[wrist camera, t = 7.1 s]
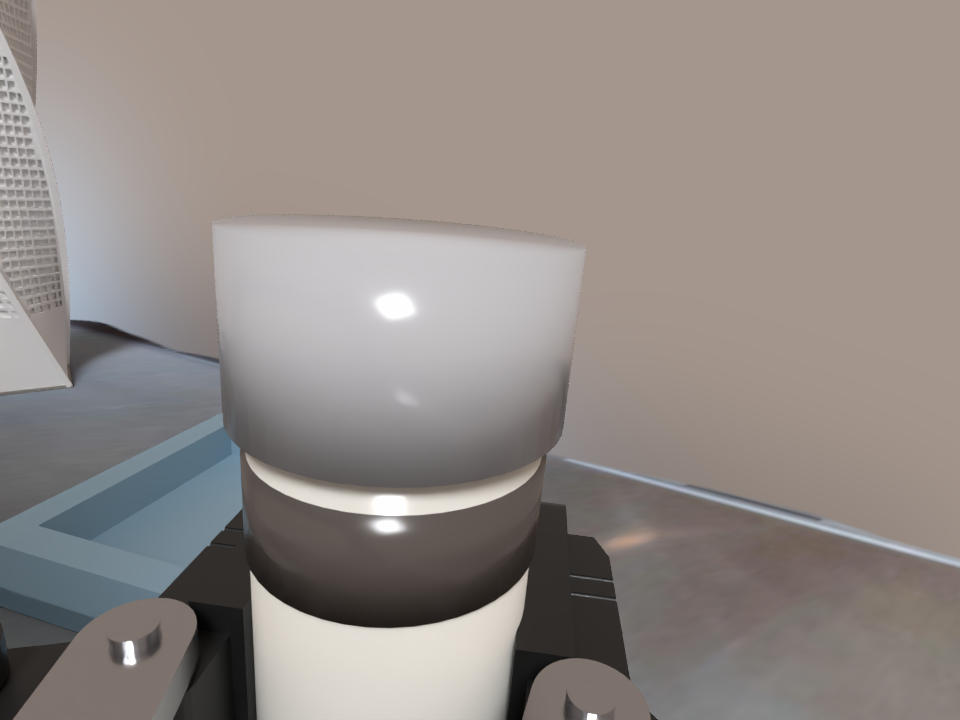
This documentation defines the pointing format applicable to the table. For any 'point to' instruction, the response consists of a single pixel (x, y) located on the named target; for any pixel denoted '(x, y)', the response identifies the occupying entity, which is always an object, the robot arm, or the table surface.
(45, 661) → the robot arm
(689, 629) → the table surface
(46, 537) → the tray
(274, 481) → the fuse
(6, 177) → the skyscraper
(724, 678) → the table surface
